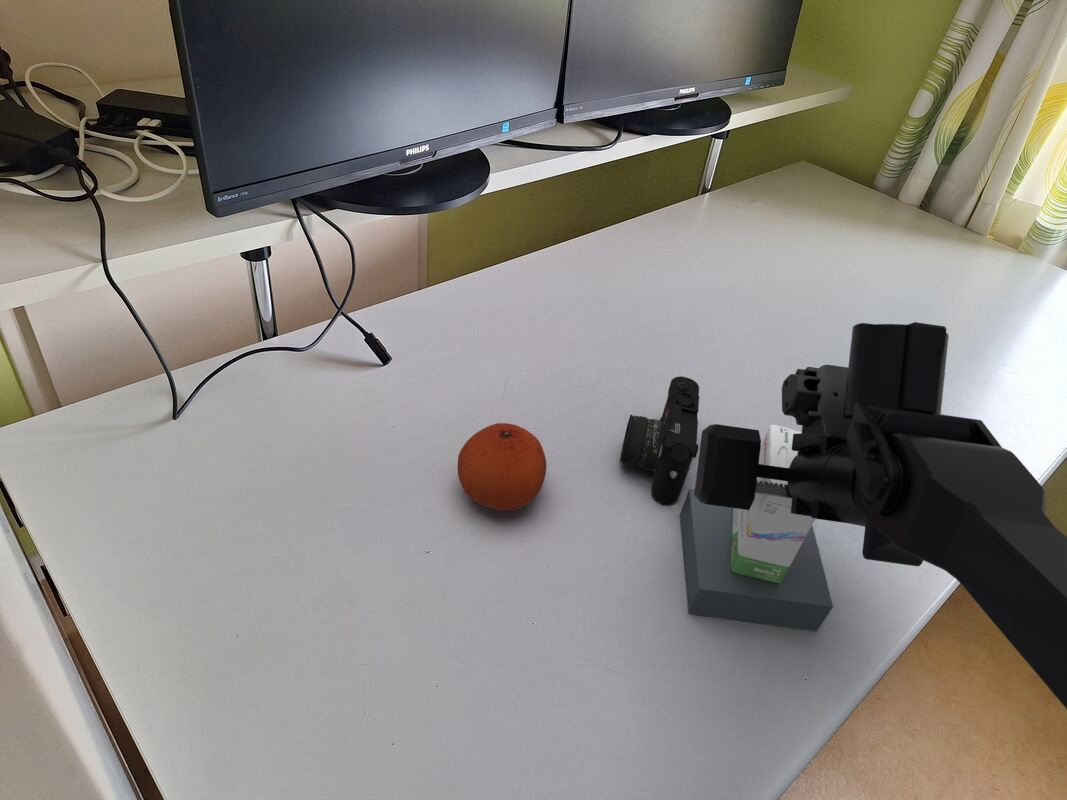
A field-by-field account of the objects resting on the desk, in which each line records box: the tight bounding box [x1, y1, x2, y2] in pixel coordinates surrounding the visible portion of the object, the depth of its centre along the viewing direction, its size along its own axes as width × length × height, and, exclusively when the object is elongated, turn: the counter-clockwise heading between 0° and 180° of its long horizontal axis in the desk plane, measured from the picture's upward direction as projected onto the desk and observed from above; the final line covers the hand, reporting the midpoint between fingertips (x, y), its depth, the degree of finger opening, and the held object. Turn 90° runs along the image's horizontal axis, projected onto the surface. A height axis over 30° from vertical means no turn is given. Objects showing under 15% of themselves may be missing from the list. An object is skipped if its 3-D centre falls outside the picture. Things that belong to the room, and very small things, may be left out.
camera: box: [619, 376, 700, 506], centre depth 82 cm, size 14×7×8 cm, turn 169°
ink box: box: [731, 423, 816, 584], centre depth 68 cm, size 8×5×12 cm, turn 167°
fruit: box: [457, 422, 547, 511], centre depth 75 cm, size 9×9×8 cm
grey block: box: [679, 487, 834, 632], centre depth 73 cm, size 12×12×4 cm
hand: (782, 476), depth 67 cm, fingers open, 9 cm apart
